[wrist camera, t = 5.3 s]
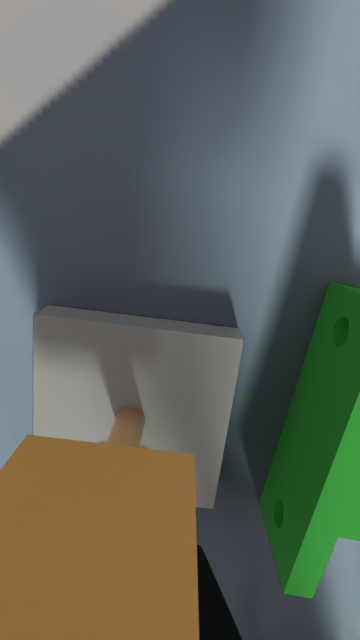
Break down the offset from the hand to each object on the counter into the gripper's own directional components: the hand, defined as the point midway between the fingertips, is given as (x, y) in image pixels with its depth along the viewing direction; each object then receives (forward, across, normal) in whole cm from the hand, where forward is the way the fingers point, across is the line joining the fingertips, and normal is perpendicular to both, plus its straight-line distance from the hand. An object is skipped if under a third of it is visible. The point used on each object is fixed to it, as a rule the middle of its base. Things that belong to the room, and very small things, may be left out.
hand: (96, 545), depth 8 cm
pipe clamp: (+7, -9, -1) cm, 11 cm away
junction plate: (+7, 0, 0) cm, 7 cm away
